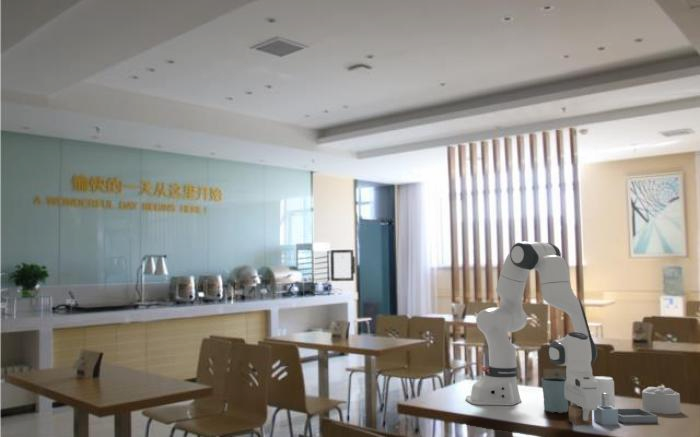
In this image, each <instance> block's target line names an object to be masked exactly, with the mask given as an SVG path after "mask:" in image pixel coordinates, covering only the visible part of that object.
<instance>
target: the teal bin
mask: <svg viewBox="0 0 700 437" xmlns="http://www.w3.org/2000/svg"><path fill="white" fill-rule="evenodd" d="M565 380H567V379H566V378H565V377H559V376H558V377H557V376H555V377H554V376H551V377H550V376H548V377H543V378H541V389H542V393H543V404H544V410H545V411H546V412H548V411H549V413H554V412H558V413H559V414H562V413H563V412H564V413H567V412H569V401H568V400H566V399H565V397H564V383H565ZM558 413H557V414H558ZM564 413H563V414H564Z"/></svg>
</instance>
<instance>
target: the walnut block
mask: <svg viewBox="0 0 700 437" xmlns="http://www.w3.org/2000/svg"><path fill="white" fill-rule="evenodd" d="M582 415H583V410H582V407H580V406H578V405H576V406H571V405H568V422H570V423H571V424H573V425H575V426H593V410H590V412H589V415H588V420H587V421H584V420H583V419H582Z"/></svg>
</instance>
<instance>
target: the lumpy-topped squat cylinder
mask: <svg viewBox="0 0 700 437" xmlns="http://www.w3.org/2000/svg"><path fill="white" fill-rule="evenodd" d="M641 397H642V399H641V400H642V404H641V405H642V409H643V410H645V411H647V412H650V413H653V414H654V413H656V414H663V415H665V414H666V415H675V414H681V394H680V393H679V392H677V391H675V390H673V389H672V388H670V387H664V386H657V387H655V386H648V387H646V388H644V389H642V391H641Z"/></svg>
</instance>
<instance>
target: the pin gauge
mask: <svg viewBox="0 0 700 437" xmlns="http://www.w3.org/2000/svg"><path fill="white" fill-rule="evenodd" d="M601 398H602V409H610V406H609V393H601Z"/></svg>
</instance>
